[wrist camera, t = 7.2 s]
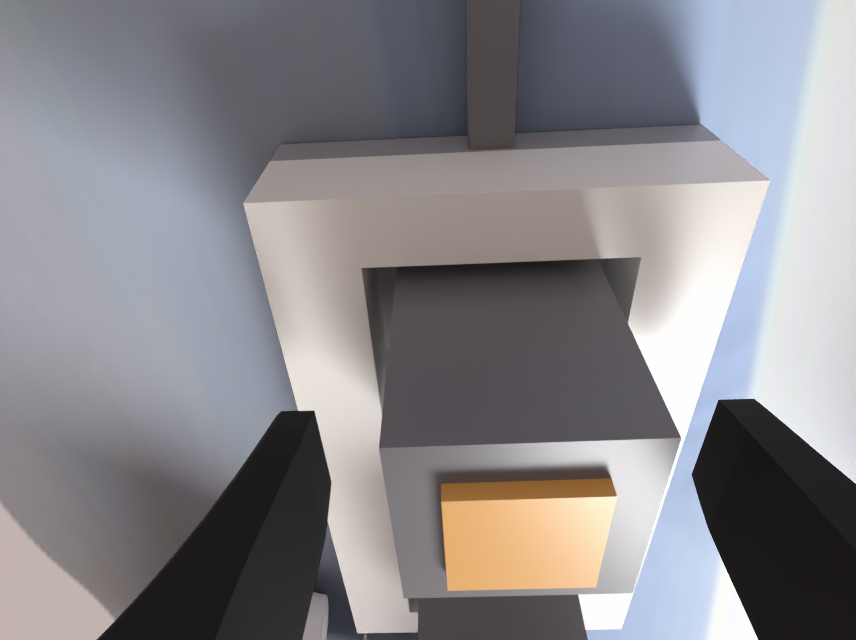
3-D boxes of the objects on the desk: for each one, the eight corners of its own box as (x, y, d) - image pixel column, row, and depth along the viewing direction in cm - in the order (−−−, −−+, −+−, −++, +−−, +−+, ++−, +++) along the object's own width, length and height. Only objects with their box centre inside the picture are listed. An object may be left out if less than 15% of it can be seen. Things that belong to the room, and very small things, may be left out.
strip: (199, -244, 9) (-247, -530, 3) (799, -287, 8) (1588, -699, 3) (365, 552, 22) (342, 779, 16) (600, 547, 21) (660, 777, 16)
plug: (582, 226, 12) (689, 455, 7) (566, 365, 15) (638, 610, 9) (399, 235, 12) (377, 466, 7) (413, 371, 15) (403, 616, 10)
